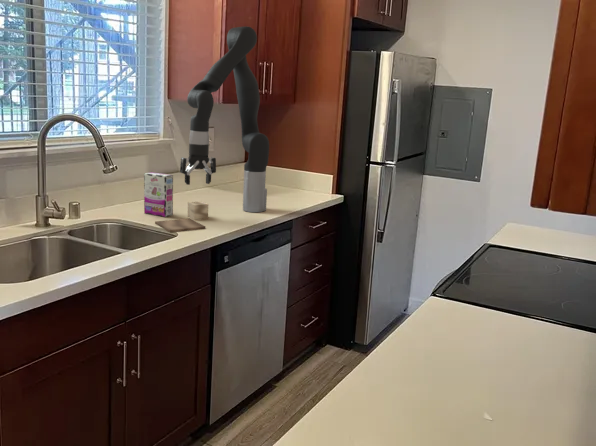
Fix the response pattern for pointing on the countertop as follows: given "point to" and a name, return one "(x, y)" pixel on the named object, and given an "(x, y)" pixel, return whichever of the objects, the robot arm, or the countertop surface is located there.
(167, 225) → the walnut board
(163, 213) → the candy bar box
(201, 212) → the maple cube
